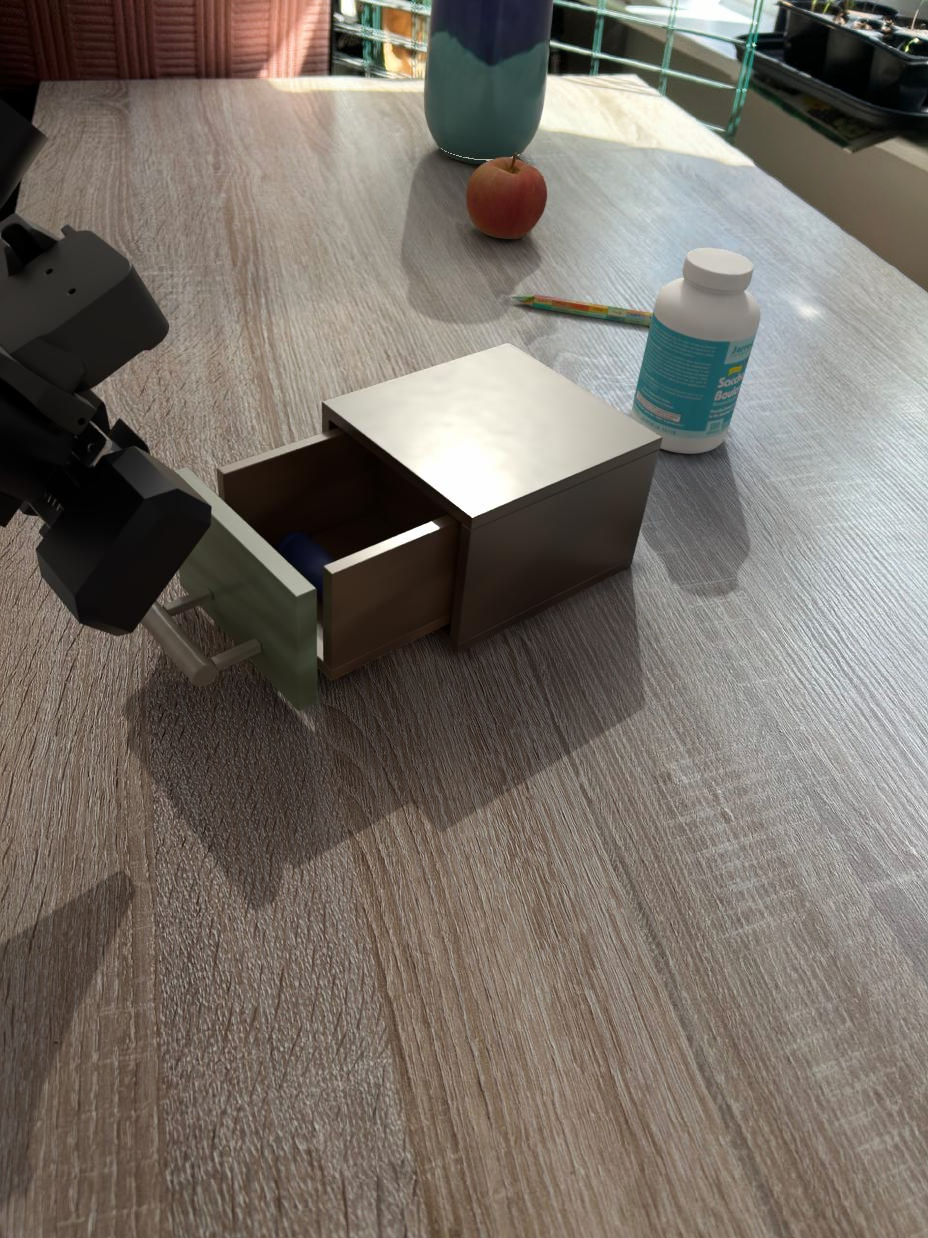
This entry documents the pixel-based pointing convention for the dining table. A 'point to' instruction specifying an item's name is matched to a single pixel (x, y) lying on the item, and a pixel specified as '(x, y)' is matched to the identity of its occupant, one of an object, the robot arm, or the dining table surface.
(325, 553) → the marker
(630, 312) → the pencil
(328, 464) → the drawer
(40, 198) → the dining table surface
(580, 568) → the cabinet
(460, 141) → the vase
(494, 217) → the apple
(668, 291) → the pill bottle
